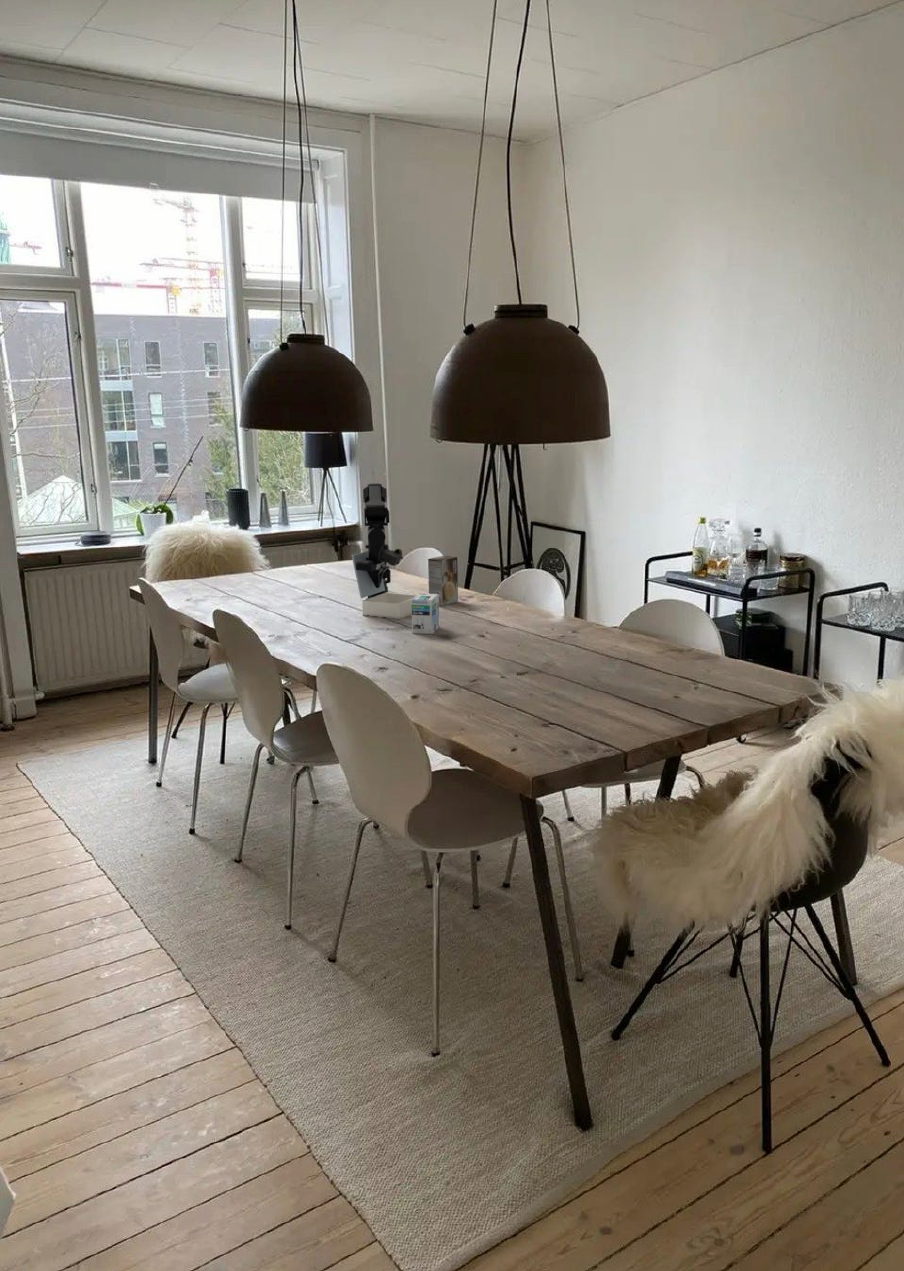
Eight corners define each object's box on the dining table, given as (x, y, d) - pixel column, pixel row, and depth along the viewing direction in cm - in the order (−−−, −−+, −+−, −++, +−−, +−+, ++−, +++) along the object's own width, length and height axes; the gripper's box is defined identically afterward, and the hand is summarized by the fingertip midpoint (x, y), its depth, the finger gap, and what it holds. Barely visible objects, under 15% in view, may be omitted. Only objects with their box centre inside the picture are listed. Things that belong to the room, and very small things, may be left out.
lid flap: (362, 598, 327) (360, 598, 327) (385, 590, 340) (383, 590, 340) (353, 555, 325) (351, 555, 325) (376, 548, 338) (375, 549, 338)
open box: (362, 615, 327) (362, 600, 326) (386, 606, 341) (386, 592, 340) (399, 619, 321) (399, 604, 320) (422, 609, 335) (422, 595, 334)
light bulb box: (432, 634, 301) (432, 600, 298) (411, 633, 302) (410, 599, 299) (440, 626, 311) (439, 593, 308) (419, 626, 312) (418, 592, 310)
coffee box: (444, 599, 353) (443, 555, 349) (458, 601, 349) (458, 556, 345) (428, 603, 346) (427, 558, 342) (442, 606, 342) (442, 560, 338)
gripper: (383, 546, 317) (384, 594, 320) (411, 539, 333) (412, 585, 337) (353, 545, 322) (355, 591, 325) (382, 537, 338) (383, 582, 341)
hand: (377, 587), depth 332 cm, fingers closed
